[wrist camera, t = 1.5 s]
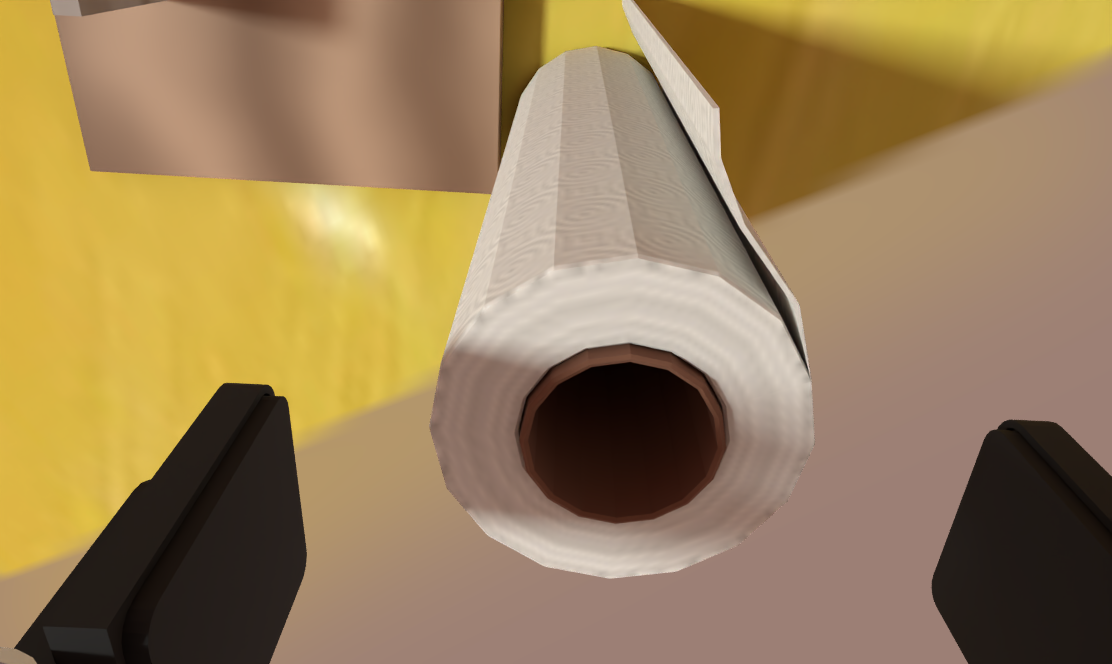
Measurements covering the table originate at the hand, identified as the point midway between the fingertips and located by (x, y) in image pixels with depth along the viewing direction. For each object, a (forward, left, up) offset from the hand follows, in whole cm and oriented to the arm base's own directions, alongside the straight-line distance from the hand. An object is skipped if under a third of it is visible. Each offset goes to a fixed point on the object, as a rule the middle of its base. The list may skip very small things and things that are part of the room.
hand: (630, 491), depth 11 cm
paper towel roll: (0, 0, -23) cm, 23 cm away
